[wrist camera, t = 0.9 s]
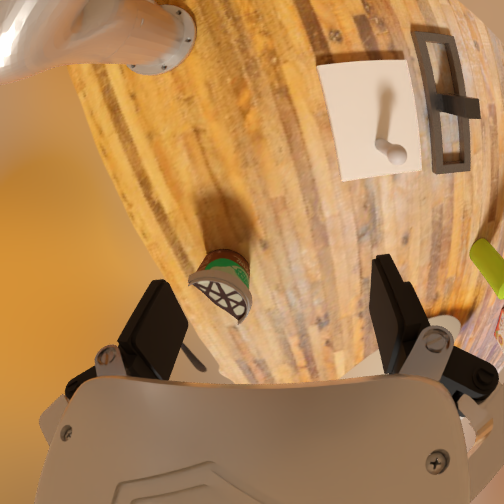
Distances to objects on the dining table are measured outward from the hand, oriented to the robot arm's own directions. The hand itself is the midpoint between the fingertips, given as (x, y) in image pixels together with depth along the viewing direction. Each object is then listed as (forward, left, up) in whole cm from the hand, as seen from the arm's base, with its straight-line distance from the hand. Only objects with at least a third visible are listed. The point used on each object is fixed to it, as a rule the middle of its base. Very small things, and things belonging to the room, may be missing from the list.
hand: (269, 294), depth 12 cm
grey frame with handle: (-4, +29, -32) cm, 44 cm away
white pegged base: (-2, +15, -32) cm, 36 cm away
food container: (+19, -13, -32) cm, 40 cm away
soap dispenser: (+27, +39, -32) cm, 58 cm away
